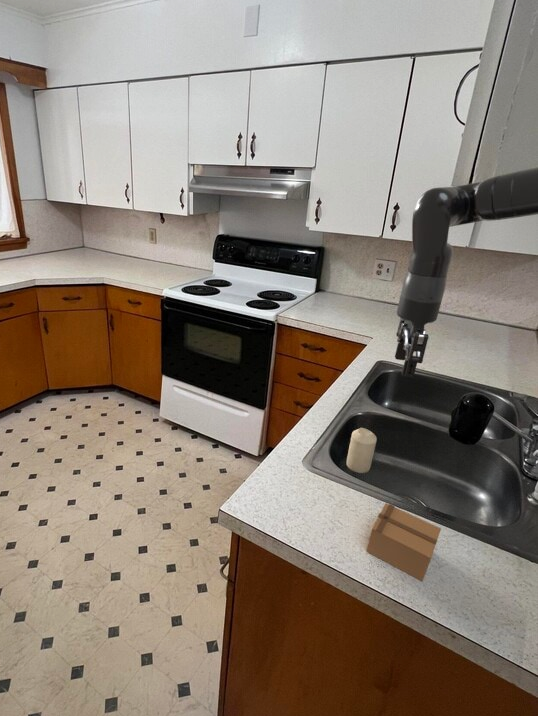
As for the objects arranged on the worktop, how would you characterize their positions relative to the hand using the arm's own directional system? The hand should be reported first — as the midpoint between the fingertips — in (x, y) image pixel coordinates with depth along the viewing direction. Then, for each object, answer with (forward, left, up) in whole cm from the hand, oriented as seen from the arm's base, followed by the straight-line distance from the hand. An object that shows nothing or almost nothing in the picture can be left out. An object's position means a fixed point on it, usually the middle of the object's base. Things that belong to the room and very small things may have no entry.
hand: (403, 367), depth 91 cm
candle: (+4, +4, -27) cm, 27 cm away
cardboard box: (-11, +23, -26) cm, 36 cm away
